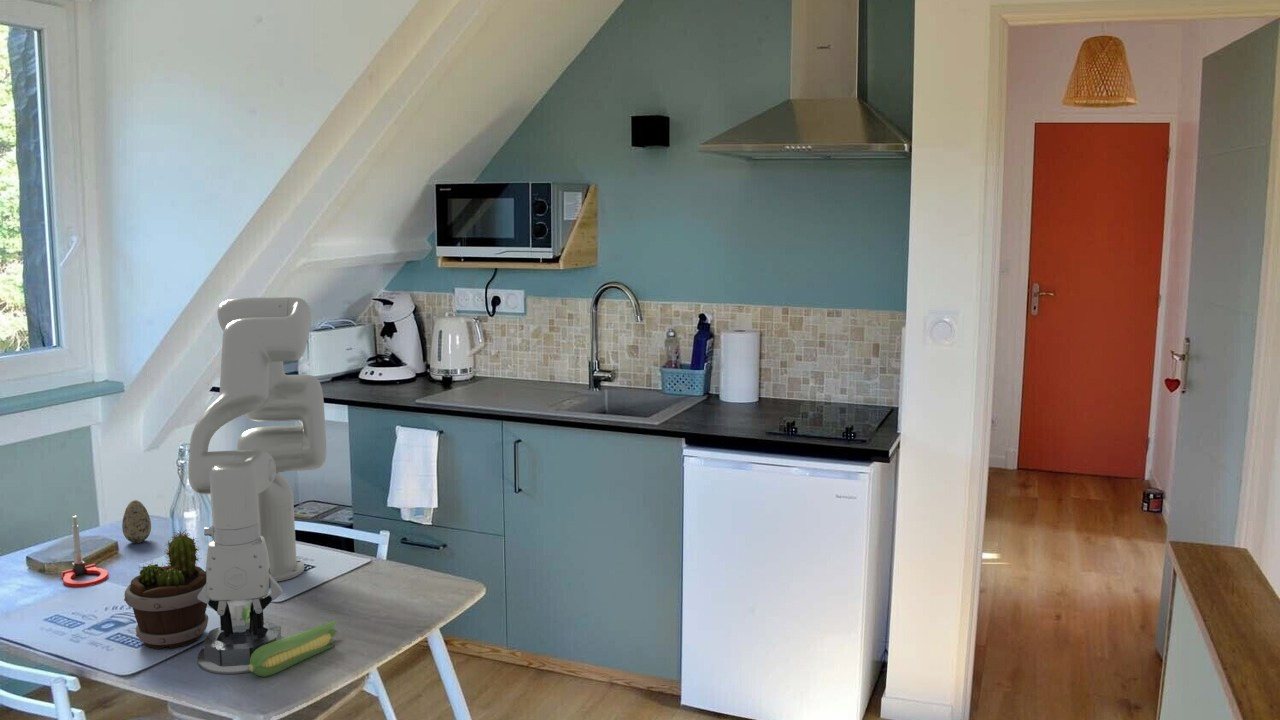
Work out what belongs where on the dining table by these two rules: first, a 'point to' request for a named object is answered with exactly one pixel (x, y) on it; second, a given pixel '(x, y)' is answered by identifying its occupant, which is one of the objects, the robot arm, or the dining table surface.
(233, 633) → the milkshake
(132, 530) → the decorative egg
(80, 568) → the tow hook
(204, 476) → the robot arm
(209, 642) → the collar
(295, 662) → the edible corn
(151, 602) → the flowerpot
